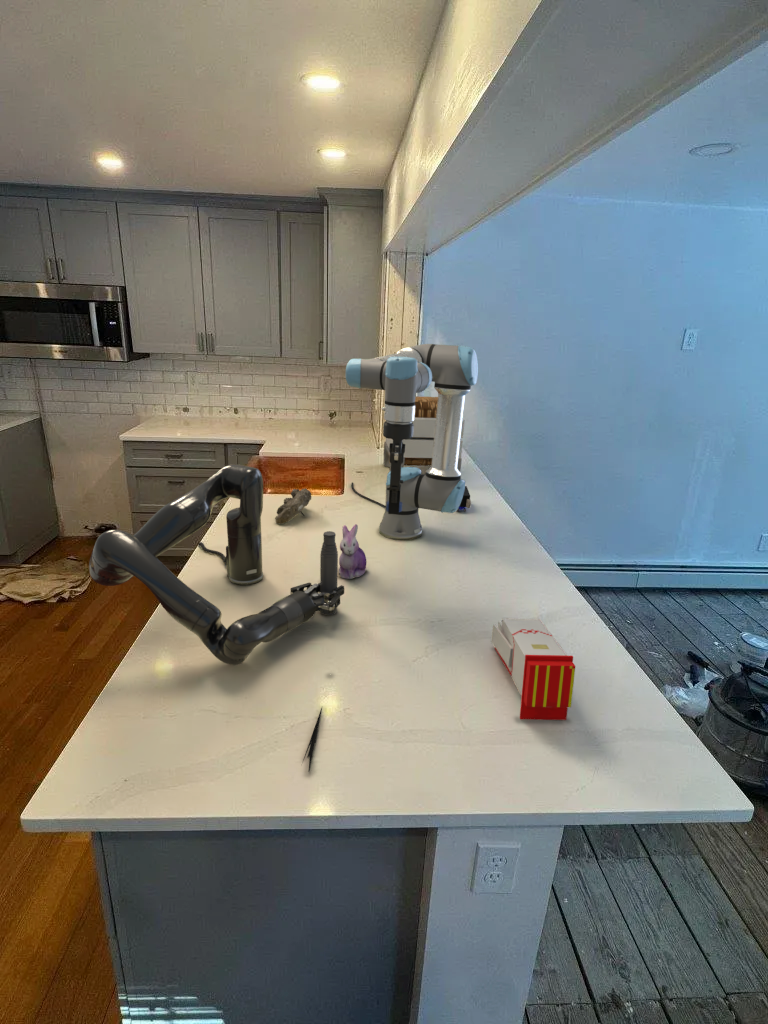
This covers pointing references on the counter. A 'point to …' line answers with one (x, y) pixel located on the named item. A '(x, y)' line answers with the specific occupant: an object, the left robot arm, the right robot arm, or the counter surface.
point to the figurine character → (465, 500)
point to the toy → (535, 667)
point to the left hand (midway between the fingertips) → (335, 586)
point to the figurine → (351, 555)
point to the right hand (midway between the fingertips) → (393, 510)
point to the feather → (313, 740)
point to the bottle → (328, 566)
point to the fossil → (293, 505)
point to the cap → (399, 506)
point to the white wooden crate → (421, 436)
